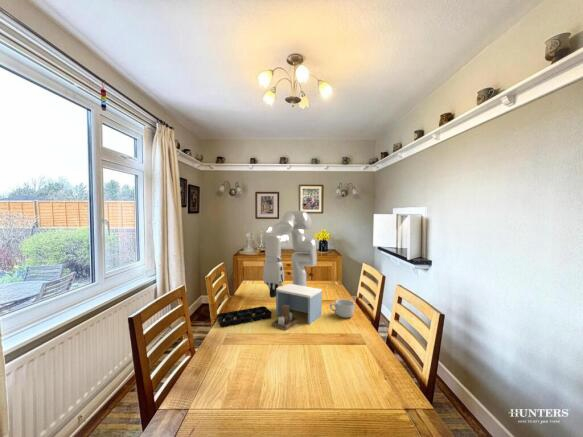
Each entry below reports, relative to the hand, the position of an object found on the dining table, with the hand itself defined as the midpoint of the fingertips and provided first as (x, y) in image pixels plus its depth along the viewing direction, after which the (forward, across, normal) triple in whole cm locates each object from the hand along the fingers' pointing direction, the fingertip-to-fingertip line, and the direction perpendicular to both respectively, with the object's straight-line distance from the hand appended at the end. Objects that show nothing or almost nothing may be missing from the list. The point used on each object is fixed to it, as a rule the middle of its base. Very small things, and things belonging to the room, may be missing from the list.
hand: (273, 296), depth 130 cm
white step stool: (+18, 0, -25) cm, 31 cm away
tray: (+18, 0, -12) cm, 21 cm away
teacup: (+18, -21, -38) cm, 47 cm away
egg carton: (+18, +23, -5) cm, 30 cm away
